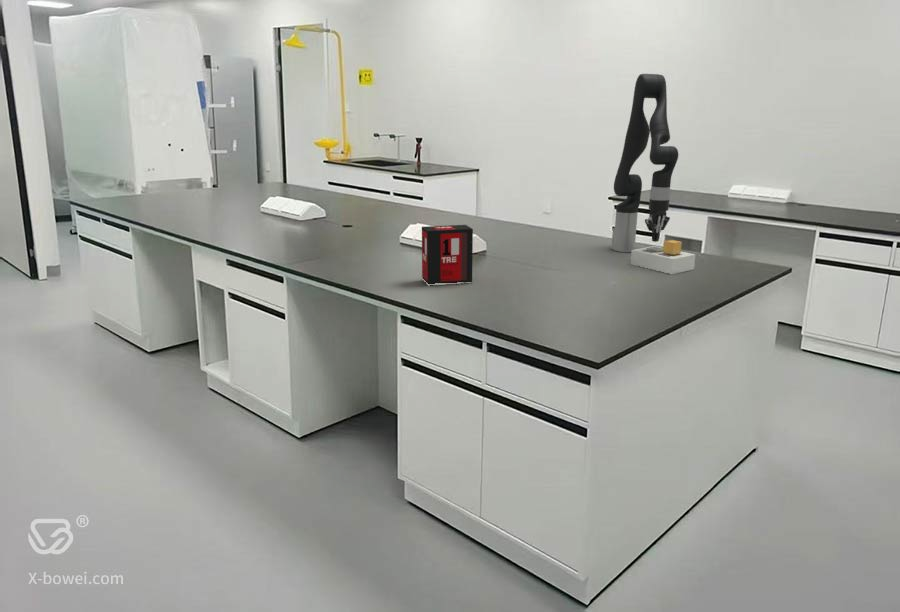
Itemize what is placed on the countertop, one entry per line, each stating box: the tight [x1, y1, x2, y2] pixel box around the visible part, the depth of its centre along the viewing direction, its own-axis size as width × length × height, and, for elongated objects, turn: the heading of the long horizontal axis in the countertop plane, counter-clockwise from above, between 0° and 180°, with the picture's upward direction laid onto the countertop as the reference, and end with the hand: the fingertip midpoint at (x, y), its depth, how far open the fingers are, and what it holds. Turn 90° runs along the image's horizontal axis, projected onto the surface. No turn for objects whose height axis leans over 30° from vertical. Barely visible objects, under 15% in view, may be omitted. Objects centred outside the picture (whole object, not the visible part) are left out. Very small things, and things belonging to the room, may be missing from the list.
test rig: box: [629, 245, 696, 275], centre depth 272 cm, size 20×14×6 cm
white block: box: [645, 246, 663, 253], centre depth 275 cm, size 5×5×4 cm
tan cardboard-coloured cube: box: [662, 239, 683, 255], centre depth 267 cm, size 5×5×4 cm
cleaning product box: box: [421, 224, 474, 284], centre depth 247 cm, size 16×9×20 cm, turn 105°
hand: (655, 241), depth 273 cm, fingers closed
